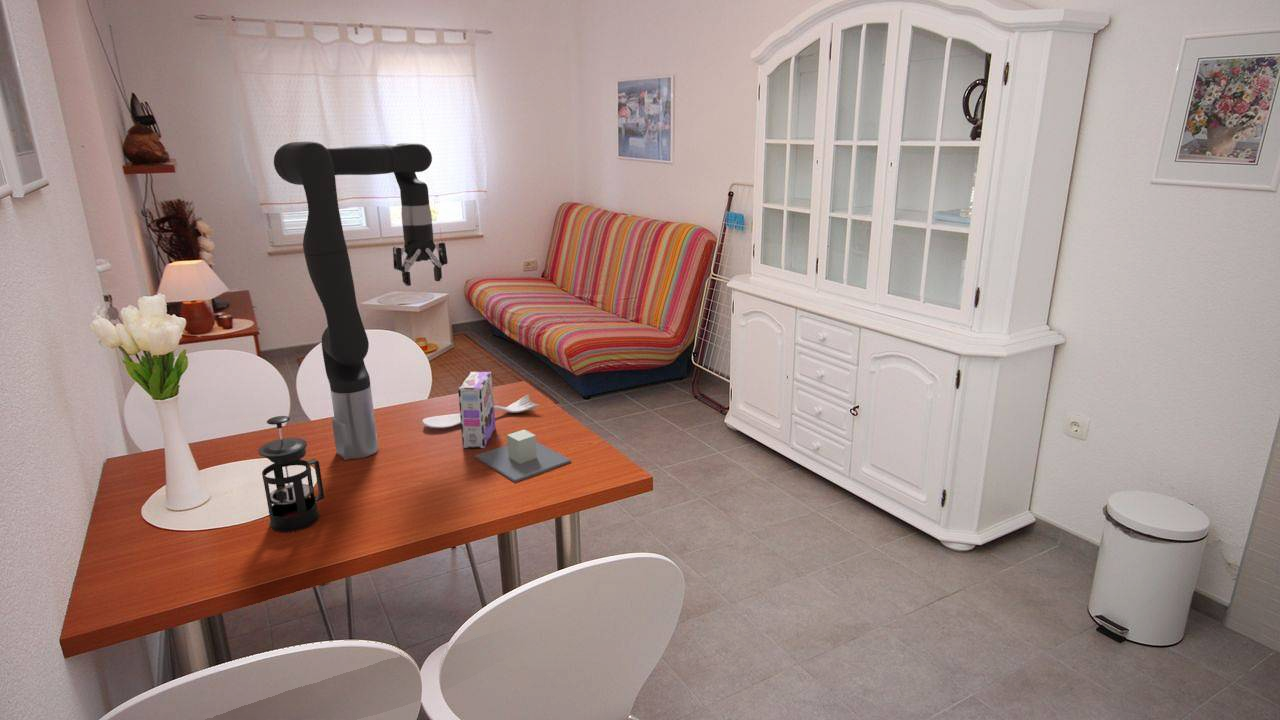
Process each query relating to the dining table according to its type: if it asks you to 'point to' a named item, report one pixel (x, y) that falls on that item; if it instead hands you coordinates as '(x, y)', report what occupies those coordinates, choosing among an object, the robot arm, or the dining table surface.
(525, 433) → the sage block
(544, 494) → the dining table surface
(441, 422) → the spoon
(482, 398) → the candy box
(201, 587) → the dining table surface
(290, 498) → the french press
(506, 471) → the placemat
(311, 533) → the dining table surface
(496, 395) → the dining table surface
